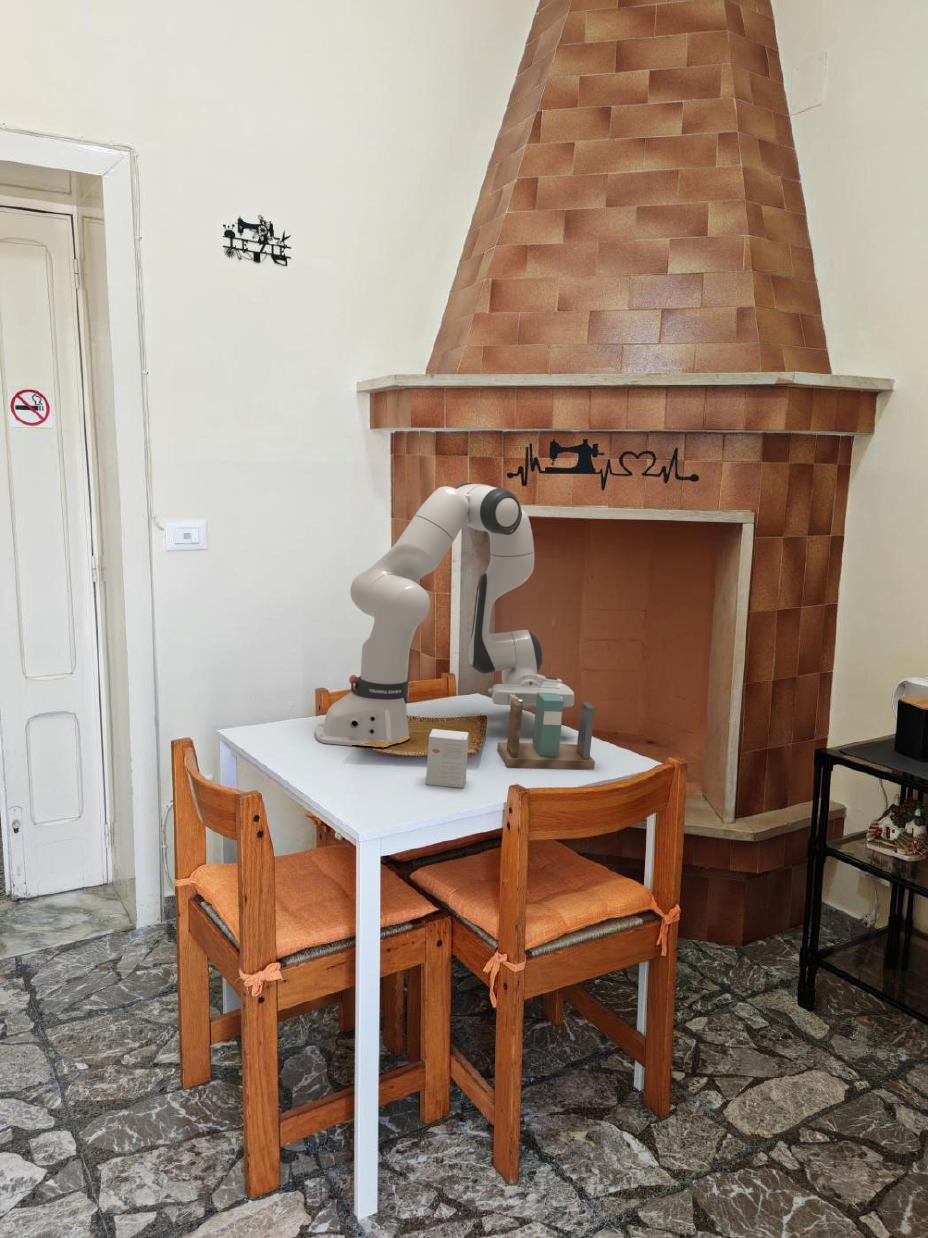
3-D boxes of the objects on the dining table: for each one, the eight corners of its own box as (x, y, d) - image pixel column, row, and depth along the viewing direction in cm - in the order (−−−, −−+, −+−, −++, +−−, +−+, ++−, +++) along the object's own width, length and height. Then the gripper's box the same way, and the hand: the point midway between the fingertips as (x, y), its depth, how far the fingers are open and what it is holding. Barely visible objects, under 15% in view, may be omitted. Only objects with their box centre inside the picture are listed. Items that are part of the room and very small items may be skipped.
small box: (466, 779, 195) (470, 732, 193) (463, 789, 190) (467, 739, 188) (428, 775, 196) (432, 728, 194) (425, 784, 190) (428, 735, 189)
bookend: (582, 759, 208) (588, 708, 206) (576, 751, 214) (581, 701, 212) (589, 759, 209) (594, 708, 206) (582, 751, 214) (587, 701, 212)
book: (539, 756, 208) (544, 700, 206) (532, 746, 215) (537, 692, 213) (558, 757, 209) (564, 701, 206) (550, 746, 216) (556, 693, 214)
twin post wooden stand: (507, 767, 205) (512, 706, 203) (497, 750, 217) (502, 692, 214) (593, 769, 208) (600, 709, 206) (579, 752, 220) (585, 695, 217)
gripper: (487, 676, 232) (497, 690, 218) (566, 679, 235) (581, 693, 221) (485, 700, 233) (495, 716, 219) (564, 703, 236) (578, 718, 222)
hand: (539, 704), depth 220 cm, fingers open, 8 cm apart
